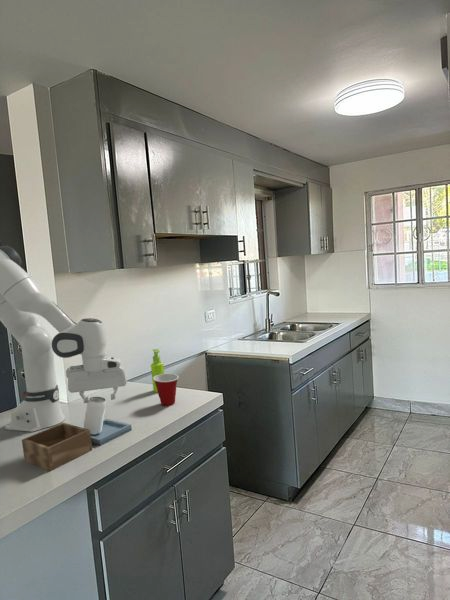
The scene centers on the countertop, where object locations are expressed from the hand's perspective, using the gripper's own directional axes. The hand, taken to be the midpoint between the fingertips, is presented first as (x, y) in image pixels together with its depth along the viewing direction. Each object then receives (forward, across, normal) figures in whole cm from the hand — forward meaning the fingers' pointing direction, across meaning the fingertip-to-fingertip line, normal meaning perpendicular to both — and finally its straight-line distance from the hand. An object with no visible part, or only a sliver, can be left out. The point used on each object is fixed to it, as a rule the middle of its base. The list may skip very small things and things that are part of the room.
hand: (99, 400), depth 147 cm
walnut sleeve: (+12, -13, -12) cm, 22 cm away
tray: (+12, 0, 0) cm, 12 cm away
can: (+11, -4, 0) cm, 12 cm away
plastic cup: (+12, +24, +23) cm, 36 cm away
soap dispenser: (+12, +21, +43) cm, 50 cm away
